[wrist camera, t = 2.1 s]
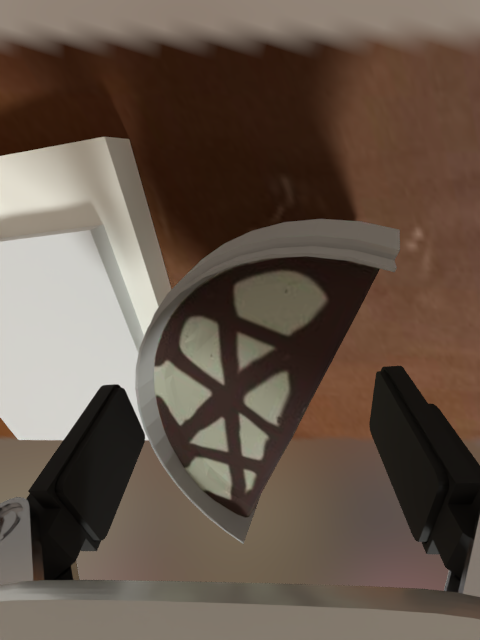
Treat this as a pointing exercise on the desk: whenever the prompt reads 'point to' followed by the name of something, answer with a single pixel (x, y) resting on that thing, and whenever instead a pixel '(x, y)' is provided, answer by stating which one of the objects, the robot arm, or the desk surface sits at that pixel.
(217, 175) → the desk surface
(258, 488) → the food container
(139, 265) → the scale
